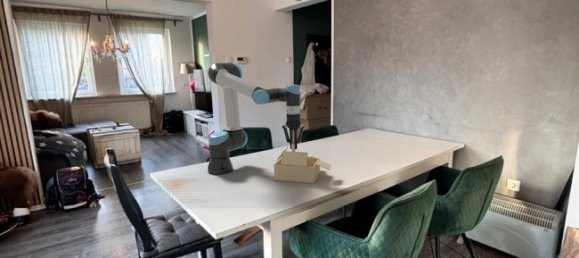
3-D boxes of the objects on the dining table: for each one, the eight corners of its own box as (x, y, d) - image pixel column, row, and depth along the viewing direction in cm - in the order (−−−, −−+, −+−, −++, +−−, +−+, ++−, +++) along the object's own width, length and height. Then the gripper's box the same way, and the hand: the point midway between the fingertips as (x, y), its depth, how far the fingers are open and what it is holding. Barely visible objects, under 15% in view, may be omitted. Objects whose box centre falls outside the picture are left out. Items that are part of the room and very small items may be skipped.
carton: (274, 180, 172) (273, 164, 170) (284, 170, 189) (283, 156, 187) (313, 183, 166) (313, 167, 164) (320, 173, 183) (320, 158, 181)
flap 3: (293, 156, 194) (293, 157, 194) (290, 155, 187) (290, 156, 187) (315, 157, 190) (315, 158, 190) (313, 156, 183) (313, 157, 183)
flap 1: (276, 161, 175) (276, 160, 175) (281, 157, 182) (280, 157, 182) (284, 151, 173) (283, 150, 173) (288, 147, 180) (287, 147, 180)
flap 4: (329, 169, 167) (329, 170, 167) (331, 165, 175) (331, 165, 175) (316, 163, 169) (316, 164, 169) (319, 159, 176) (319, 160, 176)
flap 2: (280, 164, 169) (280, 164, 169) (283, 151, 172) (282, 151, 172) (306, 166, 165) (305, 165, 165) (307, 152, 168) (307, 152, 168)
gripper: (279, 113, 170) (280, 155, 174) (303, 114, 166) (303, 157, 170) (284, 112, 177) (284, 152, 181) (306, 112, 173) (306, 153, 177)
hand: (293, 154), depth 176 cm, fingers closed
